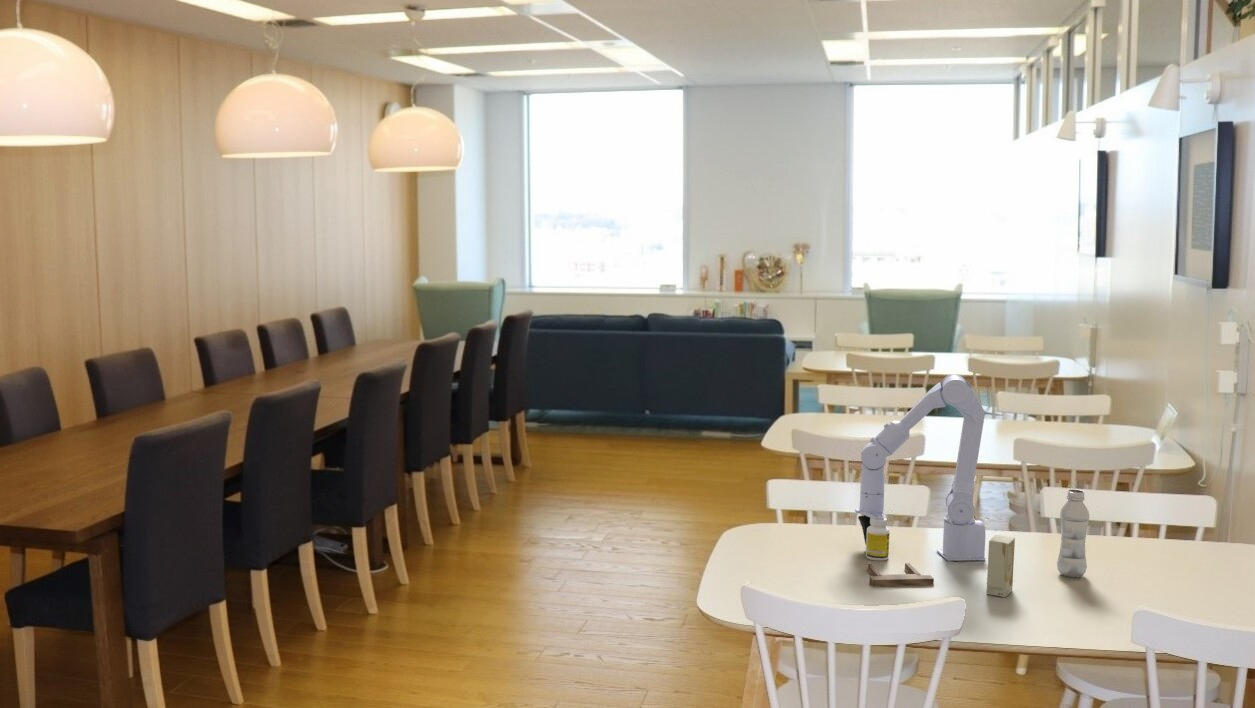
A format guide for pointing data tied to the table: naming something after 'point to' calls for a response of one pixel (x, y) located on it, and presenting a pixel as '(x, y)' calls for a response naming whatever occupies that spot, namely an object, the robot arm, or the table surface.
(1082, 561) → the plastic bottle
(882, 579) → the wooden bracket frame
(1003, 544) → the skincare box
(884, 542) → the supplement bottle
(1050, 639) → the table surface
